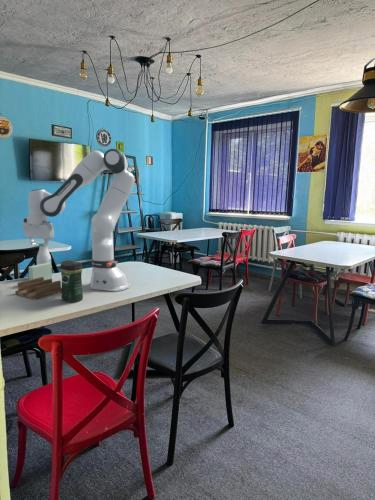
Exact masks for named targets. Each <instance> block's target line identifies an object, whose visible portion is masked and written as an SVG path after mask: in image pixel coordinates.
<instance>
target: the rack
mask: <svg viewBox="0 0 375 500" xmlns="http://www.w3.org/2000/svg"><path fill="white" fill-rule="evenodd" d="M59 293H62V280H56V281H53V278H52V279H47V280H44V277H40V278H36V279H32V280H29V279H28V280H23V281H20V282H17V290H15V293H14V294H15V295H18V296H20V297H24V298H25V297H26V298H30V299H33V300H35V301H36V300H40V299H43V298H47V297H50V296H52V295H55V294H56V295H57V294H59Z"/></svg>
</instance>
